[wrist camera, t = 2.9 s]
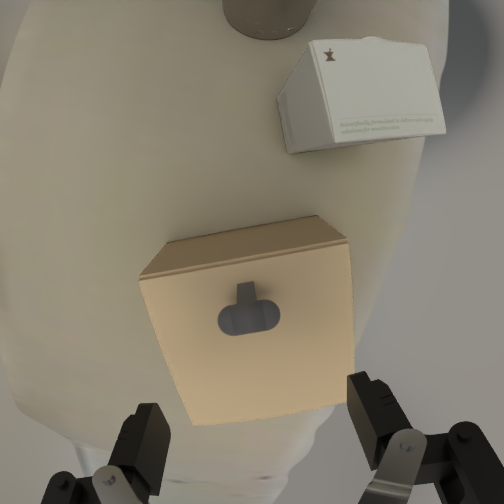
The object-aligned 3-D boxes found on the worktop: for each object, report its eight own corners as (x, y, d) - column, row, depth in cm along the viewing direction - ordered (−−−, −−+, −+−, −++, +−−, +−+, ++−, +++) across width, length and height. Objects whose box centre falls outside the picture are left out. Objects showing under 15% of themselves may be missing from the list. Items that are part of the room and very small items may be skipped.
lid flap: (140, 278, 23) (117, 307, 18) (346, 241, 22) (372, 262, 18) (194, 421, 27) (188, 460, 22) (352, 396, 27) (367, 432, 22)
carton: (167, 242, 32) (138, 275, 23) (316, 215, 32) (347, 238, 22) (202, 364, 37) (193, 421, 27) (329, 343, 37) (353, 395, 27)
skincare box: (286, 155, 30) (327, 149, 15) (274, 93, 28) (302, 35, 13) (362, 144, 30) (450, 139, 15) (351, 85, 28) (428, 39, 13)
